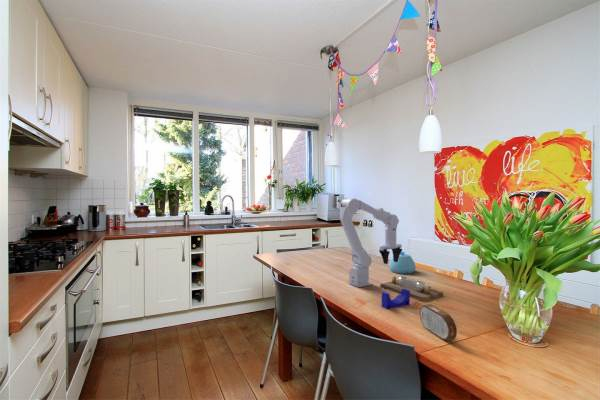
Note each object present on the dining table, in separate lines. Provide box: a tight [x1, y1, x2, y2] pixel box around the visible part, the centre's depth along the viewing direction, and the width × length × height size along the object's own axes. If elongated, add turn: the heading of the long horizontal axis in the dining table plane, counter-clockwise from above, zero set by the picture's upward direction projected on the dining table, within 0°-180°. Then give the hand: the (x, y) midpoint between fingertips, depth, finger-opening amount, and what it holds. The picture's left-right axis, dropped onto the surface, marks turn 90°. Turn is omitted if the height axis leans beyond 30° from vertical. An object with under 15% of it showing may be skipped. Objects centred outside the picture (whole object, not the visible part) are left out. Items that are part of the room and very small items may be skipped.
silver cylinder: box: [398, 276, 426, 293], centre depth 141 cm, size 14×4×4 cm, turn 32°
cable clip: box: [381, 289, 411, 310], centre depth 124 cm, size 12×4×6 cm, turn 114°
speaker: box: [419, 303, 458, 341], centre depth 98 cm, size 15×3×8 cm, turn 13°
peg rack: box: [379, 276, 444, 303], centre depth 141 cm, size 14×24×4 cm, turn 32°
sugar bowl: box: [388, 250, 417, 275], centre depth 179 cm, size 15×15×12 cm
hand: (390, 262), depth 159 cm, fingers open, 7 cm apart
